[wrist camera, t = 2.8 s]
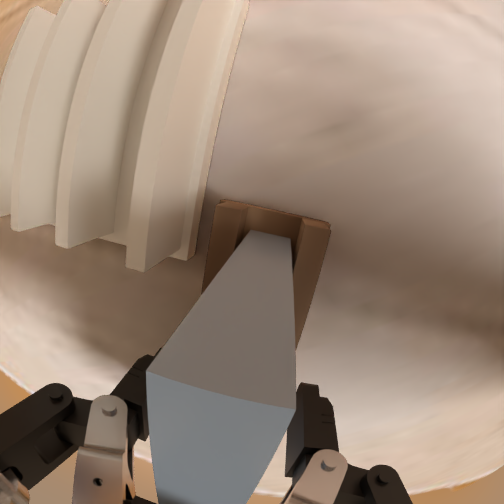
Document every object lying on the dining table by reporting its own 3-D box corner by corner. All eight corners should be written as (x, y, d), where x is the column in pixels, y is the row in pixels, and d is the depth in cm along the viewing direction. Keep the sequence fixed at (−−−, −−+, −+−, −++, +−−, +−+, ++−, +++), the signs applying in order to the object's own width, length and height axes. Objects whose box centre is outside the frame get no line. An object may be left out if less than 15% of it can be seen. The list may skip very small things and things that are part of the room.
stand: (327, 222, 13) (338, 232, 10) (263, 426, 16) (259, 456, 14) (224, 199, 13) (208, 203, 10) (192, 408, 17) (180, 437, 14)
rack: (249, 5, 10) (234, -50, 6) (194, 254, 14) (153, 288, 9) (71, 26, 11) (29, 5, 7) (30, 213, 15) (-21, 225, 10)
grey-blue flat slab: (290, 238, 12) (296, 409, 3) (241, 420, 16) (208, 558, 6) (250, 229, 13) (145, 370, 3) (214, 414, 16) (168, 547, 6)
